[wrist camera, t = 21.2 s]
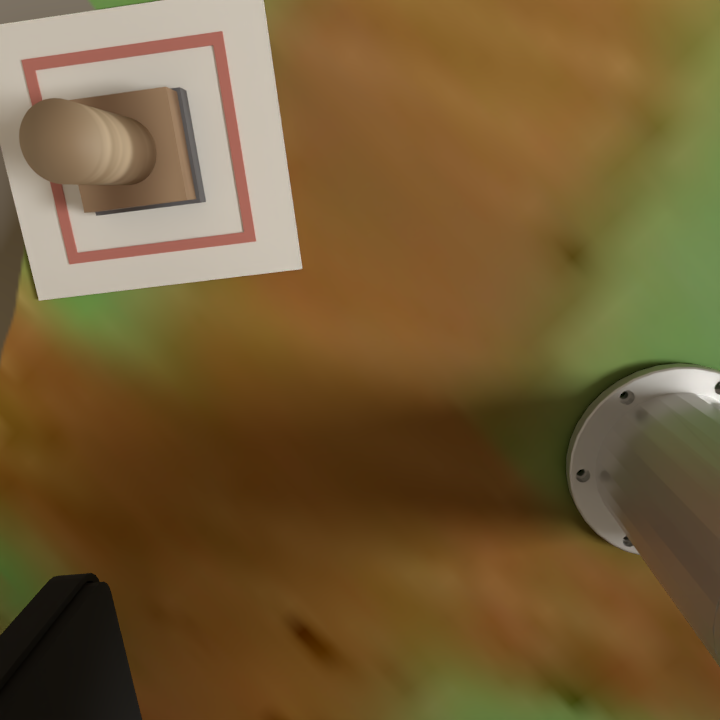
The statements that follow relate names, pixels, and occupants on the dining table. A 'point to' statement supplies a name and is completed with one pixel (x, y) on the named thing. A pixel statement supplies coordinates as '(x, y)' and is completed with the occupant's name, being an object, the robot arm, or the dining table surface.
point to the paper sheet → (212, 136)
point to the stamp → (117, 149)
